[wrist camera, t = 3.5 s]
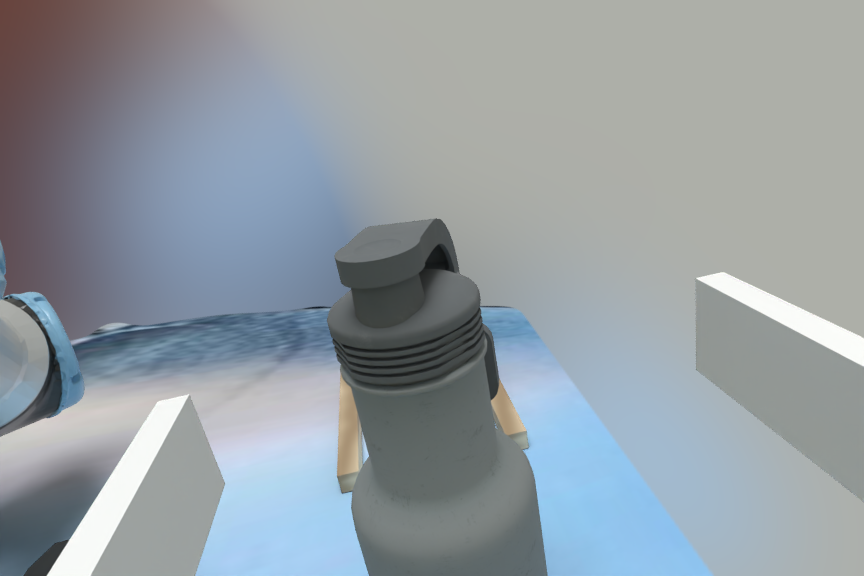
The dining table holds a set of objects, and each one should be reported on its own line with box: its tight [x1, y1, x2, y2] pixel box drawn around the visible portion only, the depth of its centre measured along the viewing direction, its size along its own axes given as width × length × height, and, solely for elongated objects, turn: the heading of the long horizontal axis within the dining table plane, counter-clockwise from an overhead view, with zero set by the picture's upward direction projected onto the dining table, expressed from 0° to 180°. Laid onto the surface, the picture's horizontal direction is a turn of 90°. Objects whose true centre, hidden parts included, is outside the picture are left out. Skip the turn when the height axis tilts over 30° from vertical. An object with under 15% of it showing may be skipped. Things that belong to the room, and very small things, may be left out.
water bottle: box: [327, 219, 547, 576], centre depth 29 cm, size 10×10×28 cm
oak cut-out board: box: [337, 375, 529, 493], centre depth 59 cm, size 18×20×2 cm
